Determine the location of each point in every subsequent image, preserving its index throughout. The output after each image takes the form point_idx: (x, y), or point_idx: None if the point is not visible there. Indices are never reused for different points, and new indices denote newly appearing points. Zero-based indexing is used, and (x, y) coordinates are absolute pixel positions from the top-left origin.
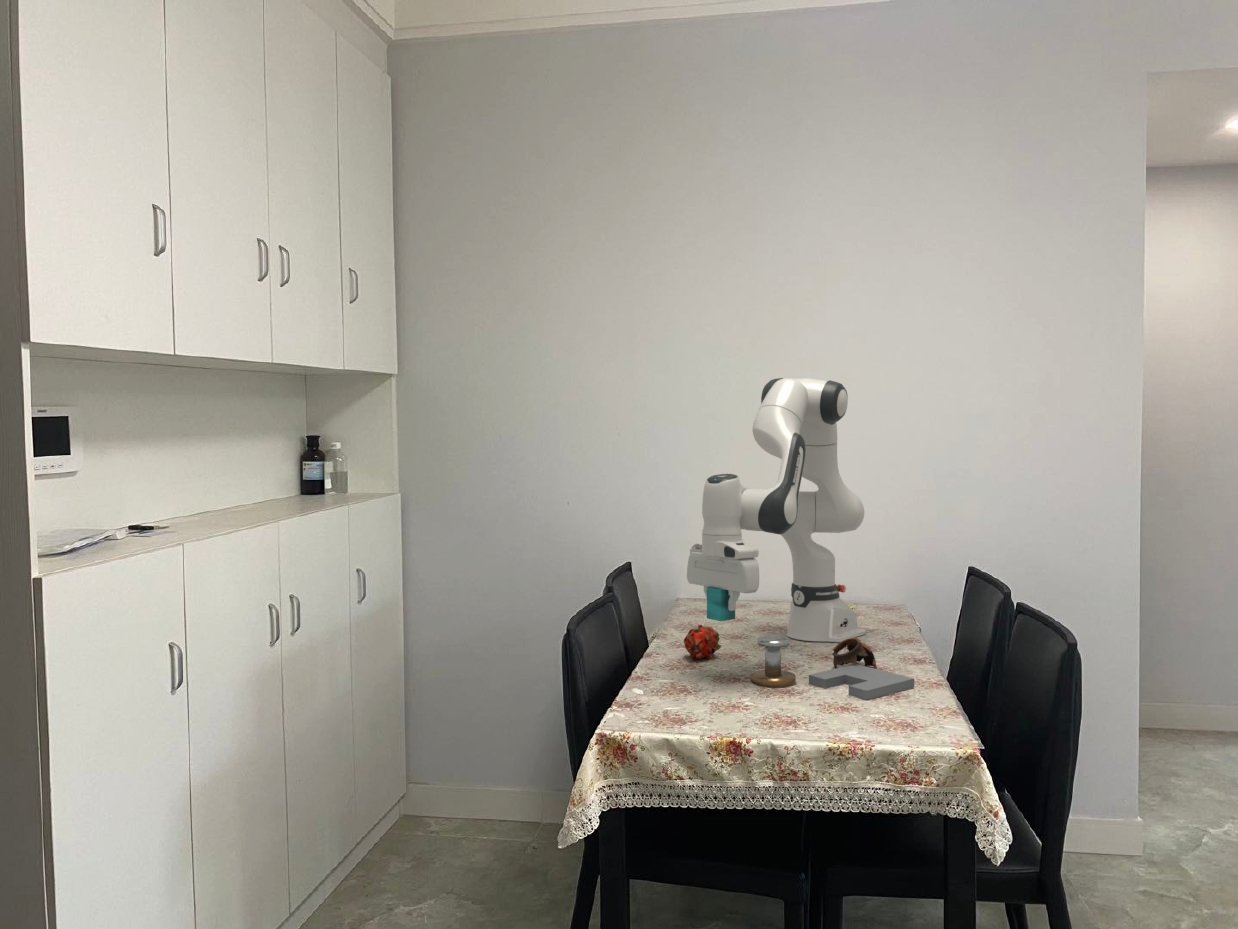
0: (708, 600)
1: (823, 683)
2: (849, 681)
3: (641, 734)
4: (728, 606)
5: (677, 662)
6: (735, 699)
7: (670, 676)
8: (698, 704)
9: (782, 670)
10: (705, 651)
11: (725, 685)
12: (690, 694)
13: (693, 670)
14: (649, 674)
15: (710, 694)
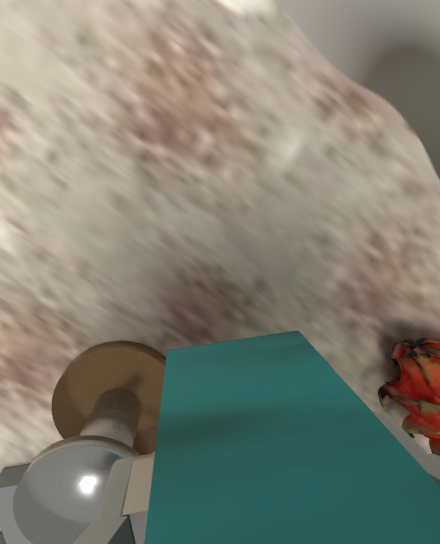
0: (343, 413)
1: (1, 477)
2: (2, 540)
3: None
4: (128, 481)
5: (418, 294)
6: (11, 206)
7: (315, 190)
8: (9, 69)
9: (146, 454)
10: (403, 379)
11: (154, 269)
12: (120, 120)
13: (329, 284)
14: (367, 148)
15: (92, 174)
